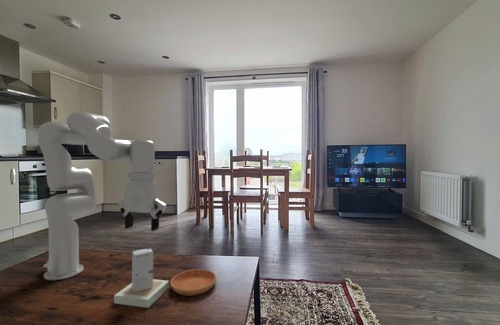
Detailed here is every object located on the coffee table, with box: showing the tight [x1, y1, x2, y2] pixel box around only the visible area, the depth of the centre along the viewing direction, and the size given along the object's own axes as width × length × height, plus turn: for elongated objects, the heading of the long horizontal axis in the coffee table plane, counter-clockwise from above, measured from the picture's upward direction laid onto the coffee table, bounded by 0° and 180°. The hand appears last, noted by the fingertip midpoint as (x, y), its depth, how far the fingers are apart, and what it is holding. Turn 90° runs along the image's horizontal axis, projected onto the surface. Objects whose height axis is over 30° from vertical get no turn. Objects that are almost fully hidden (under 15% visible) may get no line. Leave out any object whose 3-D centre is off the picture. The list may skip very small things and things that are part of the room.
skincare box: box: [131, 248, 154, 292], centre depth 82 cm, size 6×4×12 cm
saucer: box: [169, 268, 217, 297], centre depth 88 cm, size 16×16×3 cm
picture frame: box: [113, 278, 170, 309], centre depth 82 cm, size 12×12×3 cm
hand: (141, 228), depth 82 cm, fingers open, 9 cm apart
